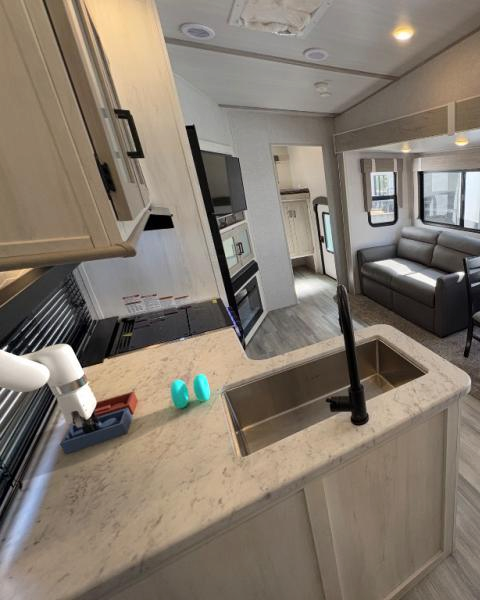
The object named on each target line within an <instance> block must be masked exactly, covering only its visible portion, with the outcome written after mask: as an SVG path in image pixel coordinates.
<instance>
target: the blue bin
mask: <svg viewBox="0 0 480 600" xmlns="http://www.w3.org/2000/svg"><path fill="white" fill-rule="evenodd" d="M111 418H116V419H117V421H118V422H119V424H116V425H113V426H110V427H106V428H103V429H100V430H97V431H94V432H91V433H88V434H85V435H82V436H79V437H76V438H75V437H74V436H73V435H74V433H75V432H76V431H79V430H81V429H82V428H81V427H80V428H77V426H76V424H71V425H69V427H68V429H67V430H66V432H65V434H64V436H63V437H62V439H61V440H60V442H59V445H60V447H61V449H62V451H63V452H64V454H65V455H68V454H71V453H74V452H77V451H80V450H82V449H86V448H88V447H91V446H94V445H95V446H96V445H97V444H100V443H103V442H106V441H109V440H113V439H115V438H118V437H120V436H121V437H122V436H124V435H126V434H128V432H129V429H130V426H131V422H132V419H133V416H132V414H131V413H130V411H129V409H128V408H126V409H123V410H119V411H116V412H113V413H110V414H106V415H103V416H100V417H98V419H99V421H100V422H101V423H104V422H105V421H107V420H109V419H111Z"/></svg>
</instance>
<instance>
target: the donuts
mask: <svg viewBox="0 0 480 600" xmlns="http://www.w3.org/2000/svg"><path fill="white" fill-rule="evenodd" d="M192 383H193V384H192V386H193V392H194V394H195V397H196V399H197V400H198V401H200V402H206V401H208V400H209V398H210V395H211V393H210V392H211V391H210V385H209V382H208V378H207V377H206V375H205V374H203V373H199V374H197V375H195V376H194V378H193V382H192ZM170 395H171V400H172V403H173V405H174V406H175V408H177V409H183V408H185V407H186V406H187V405H188V403H189V400H190V394H189V388H188V386H187V384H186V383H185V382H184V381H183V380H181V379H176V380H174V381H172V383H171V386H170Z"/></svg>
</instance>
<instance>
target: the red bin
mask: <svg viewBox="0 0 480 600" xmlns="http://www.w3.org/2000/svg"><path fill="white" fill-rule="evenodd" d="M138 400H139V399H138V398H137V396H136V393H135V391H133V390H132V391H129V392H127V393H124V394H120V395H116V396H113V397H110V398H106V399H102V400H99V401H97V404H96V407H95V409H98V408H101V407H104V406H108V405H110V406H111V407H112V406H114V405H116V404H118V403H124V404H125V405H123V406H119V407H116V408H113V409H109V410H106V411H103V412H100V413H96V414H97V417H100V416H103V415H106V414H110V413H113V412H116V411H119V410H123V409H126V408H128V409H129V411H130V413H131V415H134V413H135V410H136V406H137V404H138ZM97 417H96V418H97ZM83 421H85V420H83ZM74 424H76V422H75V420H74V422H73V423H72V425H74Z"/></svg>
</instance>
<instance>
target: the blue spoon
mask: <svg viewBox="0 0 480 600" xmlns="http://www.w3.org/2000/svg"><path fill="white" fill-rule="evenodd" d="M96 424H97V426H98V428H99V430H100V429H103V428H106V427H110V426H113V425H116V424H119V422H118V421H117V419H116V418H111V419H109V420H107V421H105V422H104V423H101V422H98V423H96ZM82 435H85V433H84V431H83V429H81V430H79V431H76V432H75V433H74V435H73V436H74V437H75V438H76V437H79V436H82Z"/></svg>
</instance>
